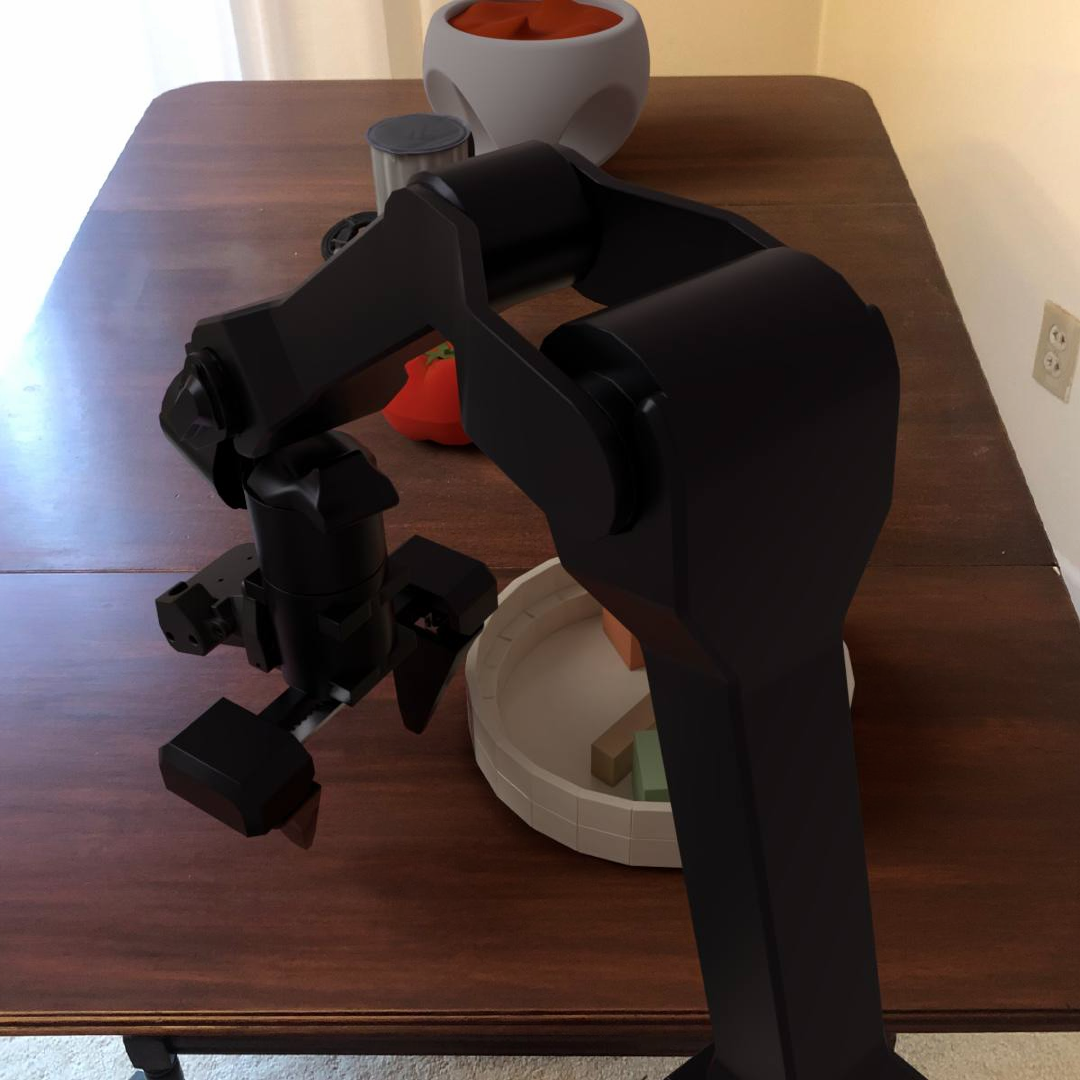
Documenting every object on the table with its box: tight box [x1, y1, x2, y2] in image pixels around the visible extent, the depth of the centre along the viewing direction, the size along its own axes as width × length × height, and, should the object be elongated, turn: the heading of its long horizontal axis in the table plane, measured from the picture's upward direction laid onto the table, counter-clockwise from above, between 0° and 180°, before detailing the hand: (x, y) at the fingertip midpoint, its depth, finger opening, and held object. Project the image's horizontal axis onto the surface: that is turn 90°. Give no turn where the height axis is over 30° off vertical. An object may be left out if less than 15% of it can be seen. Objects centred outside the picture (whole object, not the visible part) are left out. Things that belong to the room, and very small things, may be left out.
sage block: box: [632, 730, 670, 802], centre depth 64 cm, size 4×4×4 cm
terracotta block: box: [602, 607, 645, 670], centre depth 74 cm, size 4×4×4 cm
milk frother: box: [320, 112, 475, 262], centre depth 112 cm, size 14×16×15 cm
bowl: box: [464, 556, 856, 869], centre depth 69 cm, size 21×21×5 cm
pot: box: [421, 0, 651, 168], centre depth 131 cm, size 24×24×18 cm
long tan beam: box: [591, 693, 657, 788], centre depth 69 cm, size 2×12×2 cm, turn 138°
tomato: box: [380, 341, 474, 446], centre depth 94 cm, size 11×11×8 cm
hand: (360, 784), depth 64 cm, fingers open, 9 cm apart
